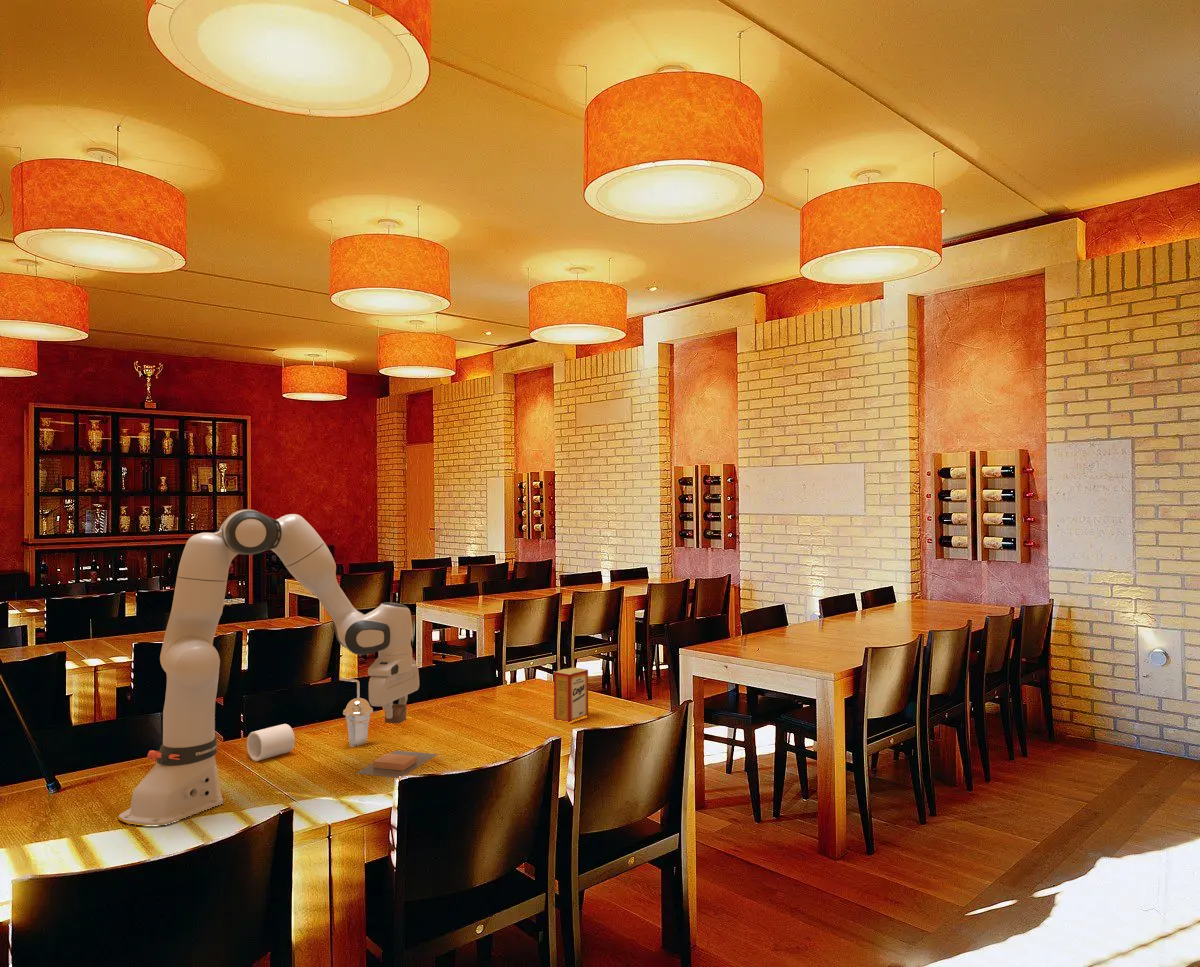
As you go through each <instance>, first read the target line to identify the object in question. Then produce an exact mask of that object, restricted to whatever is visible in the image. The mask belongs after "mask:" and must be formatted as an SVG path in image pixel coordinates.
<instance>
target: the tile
mask: <svg viewBox="0 0 1200 967" xmlns="http://www.w3.org/2000/svg"><path fill="white" fill-rule="evenodd" d="M416 762H417V756H411V755H400V754H391V753H388V752H386V753H385V754H383V755H382V756H380V757H378V758H376V759H374V760H373V761H372V764H373V767H374V768H382V769H392V770H402V771H403V770H405V769H407V768H408V767H410V766H411V765H413V764H415V763H416Z"/></svg>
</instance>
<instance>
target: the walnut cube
mask: <svg viewBox="0 0 1200 967" xmlns="http://www.w3.org/2000/svg"><path fill="white" fill-rule="evenodd" d="M392 709H393V711H395V713H394V715H395V716H394V717H393V718H391V719H388V718H386V711H385V710H384V713H385V714H384V722H385V724H396V725H397V724H398V725H399V724H401V723H403V722H405V721H407V704H406V705H402V704H398V703H393V705H392Z"/></svg>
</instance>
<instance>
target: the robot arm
mask: <svg viewBox="0 0 1200 967" xmlns="http://www.w3.org/2000/svg"><path fill="white" fill-rule="evenodd" d="M266 551H267V552H268V551H272V552H273V553H275V554H276V556H277V557H278V558H279V559H280V561H281V562H282V564H283V565H284V567H285V568H286V569H287V571H288V572H289V574H290V575H291V576H292V577H294V579H295V580H296V581H297V582H298V583H299V584H300V585H301V586H302V587H304V588H305V589H306V590H308V591H309V592H311V593H312V594H313V595H314V596H315V597H316V598H317V599H318V601H319V602H320V604H321V605H322V607H323V608H324V610H325V611H326V612H327V614H328V615H329V617H330V619H331V620H332V622H333V626H334V631H335V637H336V640H337V641H338V642H339V644H340V645H341V646H342V647H343V648H345V649H347V650H348V651H350V652H351V653H352V654H355V655H356V656H357V655H358V656H366V655H369V654H373V653H374V654H375V653H378V655H377V656H378V657H377V658H376V659H375V660H374V662H373V663H371V665H370V666H369V667H368V669H367V674H368V676H369V677H370V678H369V679H368V680H369V681H368V703H369V705H370V707H383V709H384V712H385V711H386V718H388V719H391V718H393V717H394V716H395V715H394V713H395V711H393V709H392V705H393V704H394V702H395V701H398V703H397V704H402V705H406V706H407V702H408V699H409V698H408V695H410V694H413V693H415V692H417V691H418V690H419V688H420V674H419V672H420V671H419V666H418V665H417V662H416V660H415V658H414V657H413V648H412V644H411V643H412V638H413V624H412V623H413V621H412V619H413V618H412V614H411V610H410V608H409V607H408V606H407V605H404V604H403V603H399V602H390V601H388V602H387V601H386V602H385V601H384V602H382V603H380V605H379V606H377V607H376V608H375V609H373V610H371V611H369V612H367V613H366V614H365V613H363V612H361V611H360V610H358V609H356V608H355V607H354V606H353V604H352V603H351V601H350V600H349V598H348V597H347V596H346V594H345V592H344V591H343V589H342V588H341V587H340V584H339V583H338V579H337V574H336V573H337V565H336V562H335V559H334V557H333V554H332V553H331V551H330V549H329V547H328V545H327V544H326V542H325V541H324V540H323V538H322V537H321V536H320V535H319V533H318V532H317V531H316V529H315V528H314V527H313V526H312V525H311V524H310V523H309V522H308V521H307V520H306V519H305V518H304V517H303V516H302V515H300V514H297V513H290V514H284V515H283V516H280V517H279V518H276V519H274V518H272V517H270V516H268V515H266V514H264V513H263V512H260V511H257V510H255V509H248V508H246V509H245V508H244V509H240V510H236V511H235V512H232V513H231V514H229V515H228V516H227V517H226V518H225V519H224V520H223V522H222V523H221V524H220V525H219V526H218V528H217V529H216V530H215V531H214V532H200V533H197V534H194V535H192V536H190V537H189V538H188V539H187V541H186V544H185V546H184V548H183V551H182V555H181V558H180V561H179V564H178V567H177V568H178V570H177V575H176V581H175V585H174V586H175V588H174V593H173V597H172V598H173V600H172V604H171V605H172V606H171V610H170V614H169V618H168V621H167V624H166V628H165V633H164V636H163V642H162V646H161V650H160V655H159V661H160V662H159V663H160V665H161V668H162V670H163V671H164V672H165V674H166V688H165V689H166V690H165V696H164V697H165V698H164V699H165V700H164V704H163V711H162V743H161V745H160V748H159V750H152V749H151V750H149V751H148V753H147V759H148V760H154V761H156V763H155V764H154V765H153V767H152V768H151V770H149V772H148V773H146V775H145V776H144V777H143V779H142V780H141V781H140V782H139V783H138V785H136V787H135V788H134V789H133V792H132V794H131V795H132V796H131V799H130V800H131V801H130V808H128V809H127V810H125V811H123V812H121V813H120V814H119V815H118V817H119V818H121V819H122V820H124V821H127V822H130V823H136V824H143V825H165V824H169V823H172V822H174V821H177V820H180V819H183V818H185V819H187V818H186V817H188V816H190V815H192V814H196V813H198V812H201V811H203V812H205V811H204V810H206V811H208V810H207V809H209V810H211V809H213V808H212V807H214V808H216V807H215V806H217V807H219V806H222V805H223V804H224V798H223V794H222V791H221V787H220V785H221V784H220V777H219V769H218V765H217V761H216V754H217V751H218V744H217V737H216V736H215V732H216V730H215V729H216V720H215V719H216V716H215V715H216V701H217V700H216V699H217V694H218V684H219V676H220V666H221V658H220V654H219V652H218V650H217V649H216V647H215V646H214V638H215V636H216V631H217V629H218V625H219V623H220V622H219V621H220V619H221V616H222V615H223V609H224V605H225V599H226V598H225V597H226V592H227V591H226V590H227V584H228V577H229V570H230V566H231V564H232V561H233V560H234V559H235V557H236V556H238V555H246V556H250V555H257V554H261V553H263V552H266ZM221 804H222V805H221ZM218 805H219V806H218ZM210 808H211V809H210ZM201 813H202V812H201ZM198 814H199V813H198ZM196 815H197V814H196ZM190 817H191V816H190ZM188 818H189V817H188ZM183 820H184V819H183ZM180 821H181V820H180ZM177 822H178V821H177ZM172 824H173V823H172ZM169 825H170V824H169Z"/></svg>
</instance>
